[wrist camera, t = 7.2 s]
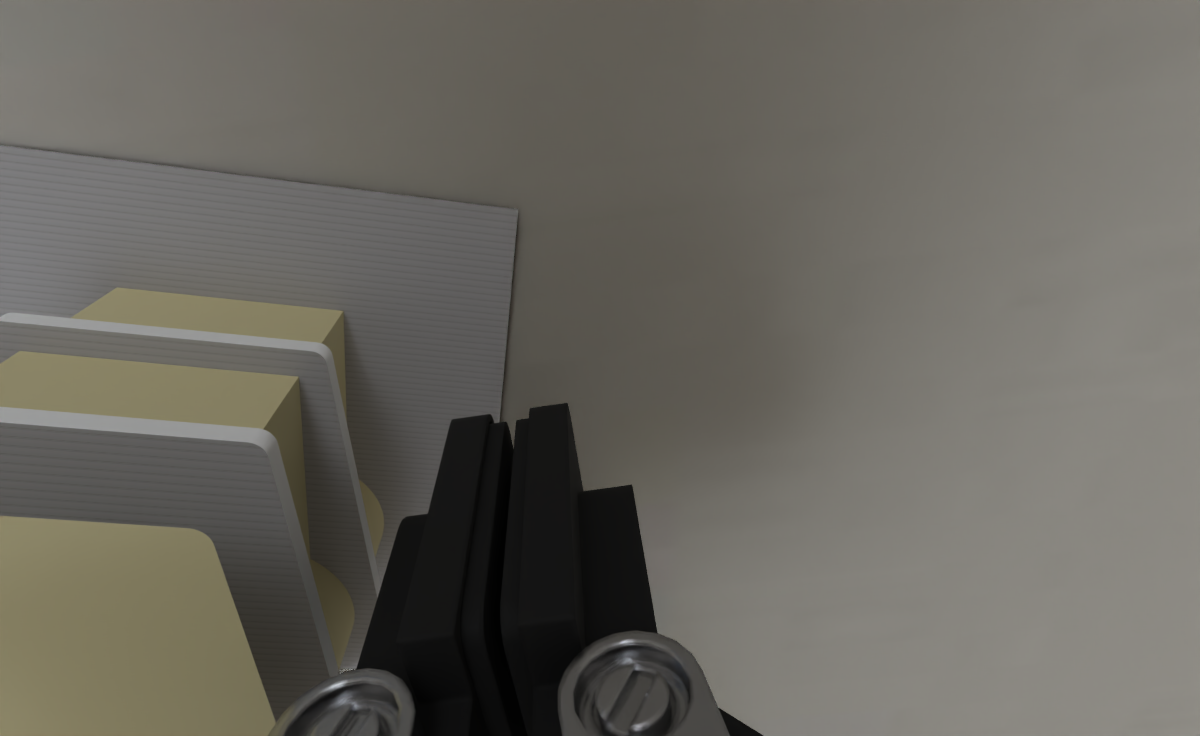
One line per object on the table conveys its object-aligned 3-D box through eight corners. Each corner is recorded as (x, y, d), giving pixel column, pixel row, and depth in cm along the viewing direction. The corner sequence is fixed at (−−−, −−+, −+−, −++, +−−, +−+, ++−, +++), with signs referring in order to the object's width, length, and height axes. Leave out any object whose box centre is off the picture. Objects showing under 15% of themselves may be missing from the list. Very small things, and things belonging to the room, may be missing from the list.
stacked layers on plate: (-162, 123, 9) (-970, 261, 4) (519, 208, 10) (487, 395, 5) (18, 651, 14) (-277, 1009, 9) (476, 672, 15) (440, 1002, 10)
